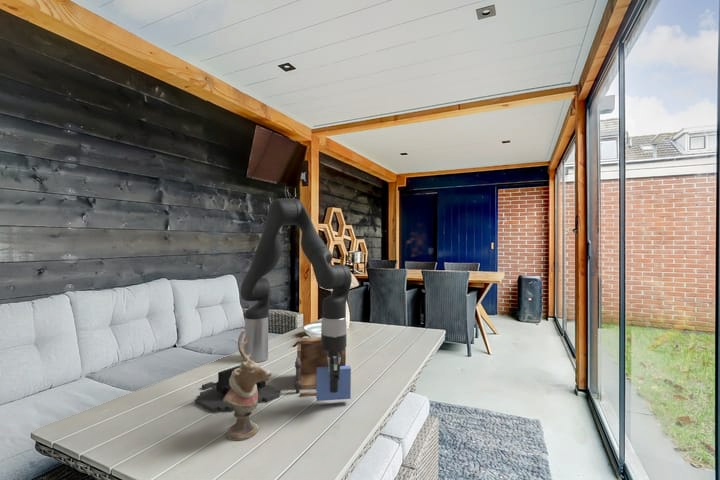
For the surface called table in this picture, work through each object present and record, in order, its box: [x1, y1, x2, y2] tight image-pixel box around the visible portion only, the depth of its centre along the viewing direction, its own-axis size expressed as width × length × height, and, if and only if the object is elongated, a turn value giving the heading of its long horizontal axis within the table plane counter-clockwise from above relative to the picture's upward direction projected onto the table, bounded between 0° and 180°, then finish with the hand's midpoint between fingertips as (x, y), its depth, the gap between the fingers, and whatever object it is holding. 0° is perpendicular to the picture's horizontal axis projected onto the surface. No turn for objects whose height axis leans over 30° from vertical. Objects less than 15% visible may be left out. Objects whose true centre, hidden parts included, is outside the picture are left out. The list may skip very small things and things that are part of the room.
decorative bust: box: [223, 330, 272, 441], centre depth 90 cm, size 11×13×25 cm
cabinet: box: [294, 336, 347, 397], centre depth 120 cm, size 17×18×14 cm
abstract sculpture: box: [194, 365, 282, 414], centre depth 111 cm, size 25×9×20 cm
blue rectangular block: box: [315, 365, 352, 402], centre depth 105 cm, size 10×2×9 cm, turn 99°
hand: (333, 389), depth 105 cm, fingers closed on blue rectangular block, 2 cm apart
